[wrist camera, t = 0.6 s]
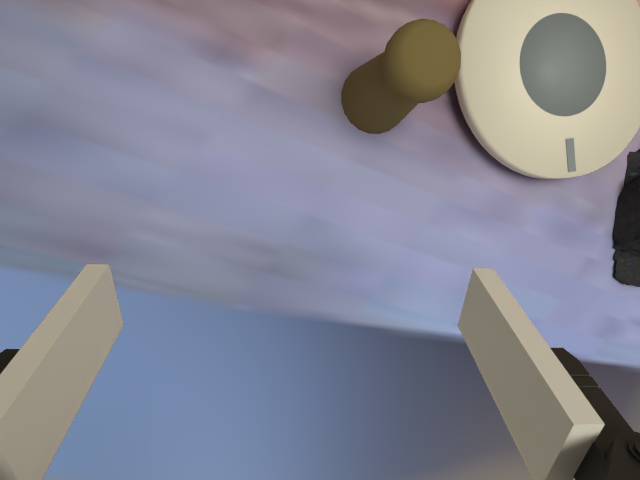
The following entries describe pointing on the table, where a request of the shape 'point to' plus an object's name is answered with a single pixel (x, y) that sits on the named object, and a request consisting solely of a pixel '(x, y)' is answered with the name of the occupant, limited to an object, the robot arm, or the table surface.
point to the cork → (402, 76)
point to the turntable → (551, 82)
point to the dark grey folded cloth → (628, 225)
